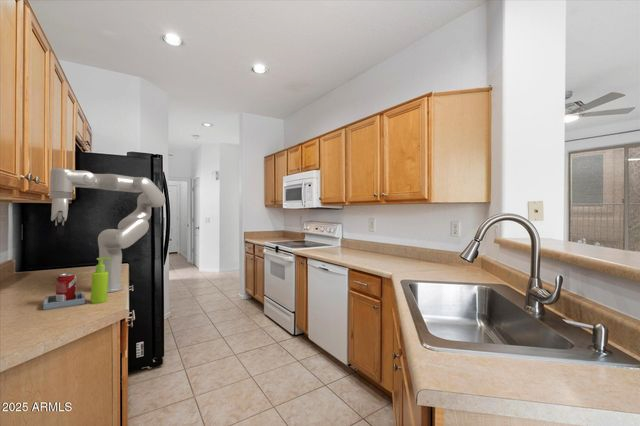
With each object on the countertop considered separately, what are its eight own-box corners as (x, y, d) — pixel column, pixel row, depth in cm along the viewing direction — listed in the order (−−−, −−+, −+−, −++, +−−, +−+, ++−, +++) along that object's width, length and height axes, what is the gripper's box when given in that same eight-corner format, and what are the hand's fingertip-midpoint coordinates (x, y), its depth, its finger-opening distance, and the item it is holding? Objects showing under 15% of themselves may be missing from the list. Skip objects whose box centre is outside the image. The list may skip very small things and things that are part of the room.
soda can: (63, 304, 121) (64, 276, 121) (51, 302, 122) (52, 275, 122) (79, 299, 128) (80, 273, 128) (68, 298, 129) (69, 272, 129)
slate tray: (45, 302, 124) (45, 296, 124) (83, 297, 133) (84, 291, 133) (43, 310, 115) (43, 304, 115) (84, 304, 123) (85, 298, 123)
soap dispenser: (109, 302, 127) (111, 258, 127) (89, 304, 124) (91, 259, 124) (110, 298, 132) (112, 256, 132) (91, 300, 128) (93, 257, 129)
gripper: (50, 195, 130) (48, 232, 130) (48, 194, 117) (46, 235, 117) (71, 196, 135) (70, 232, 135) (72, 196, 122) (70, 235, 122)
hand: (59, 234), depth 126 cm, fingers open, 9 cm apart
